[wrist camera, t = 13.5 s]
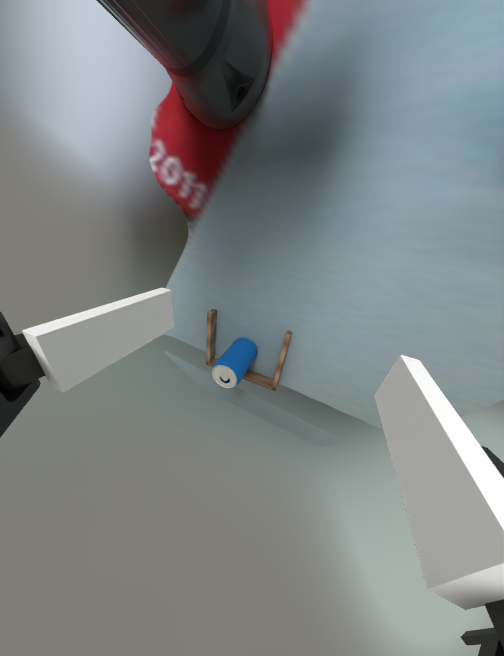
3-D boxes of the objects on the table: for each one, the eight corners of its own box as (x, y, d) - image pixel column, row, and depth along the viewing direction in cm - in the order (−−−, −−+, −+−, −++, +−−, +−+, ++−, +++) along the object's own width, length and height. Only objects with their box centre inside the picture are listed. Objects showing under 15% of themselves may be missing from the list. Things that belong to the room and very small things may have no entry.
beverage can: (235, 355, 51) (211, 385, 40) (234, 334, 48) (208, 360, 38) (257, 360, 49) (238, 393, 39) (258, 339, 46) (238, 368, 36)
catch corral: (213, 309, 47) (207, 312, 45) (291, 332, 42) (289, 337, 40) (211, 359, 54) (206, 364, 52) (277, 384, 50) (275, 390, 47)
